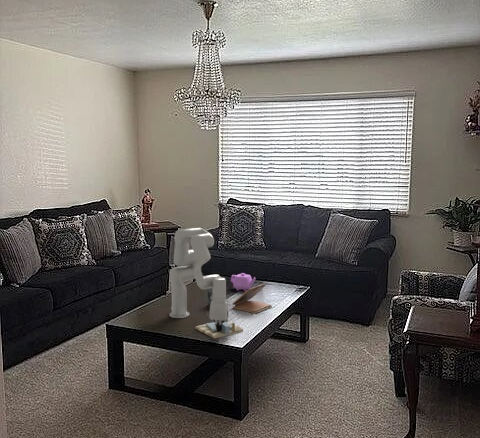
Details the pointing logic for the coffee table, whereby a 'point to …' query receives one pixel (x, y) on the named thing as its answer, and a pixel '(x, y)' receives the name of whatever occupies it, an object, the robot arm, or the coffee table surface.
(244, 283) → the teapot
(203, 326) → the post fixture
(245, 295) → the case
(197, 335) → the coffee table surface
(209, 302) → the small box
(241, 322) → the coffee table surface
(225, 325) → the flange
